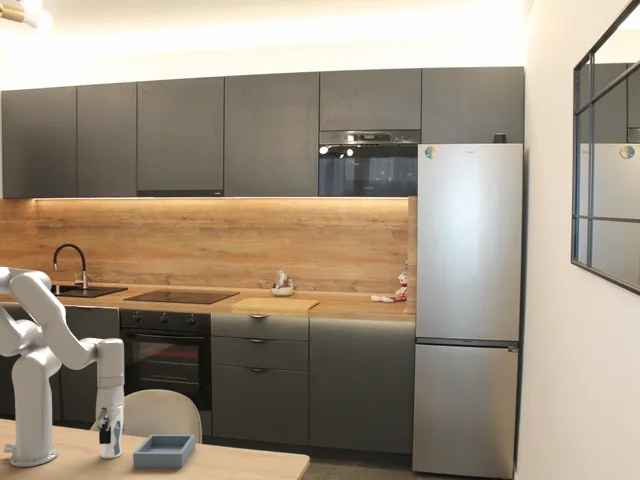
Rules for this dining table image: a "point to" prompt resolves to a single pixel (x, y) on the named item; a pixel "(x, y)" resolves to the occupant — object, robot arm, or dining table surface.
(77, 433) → the dining table surface
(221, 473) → the dining table surface
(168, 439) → the tray
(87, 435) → the dining table surface
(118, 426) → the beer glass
